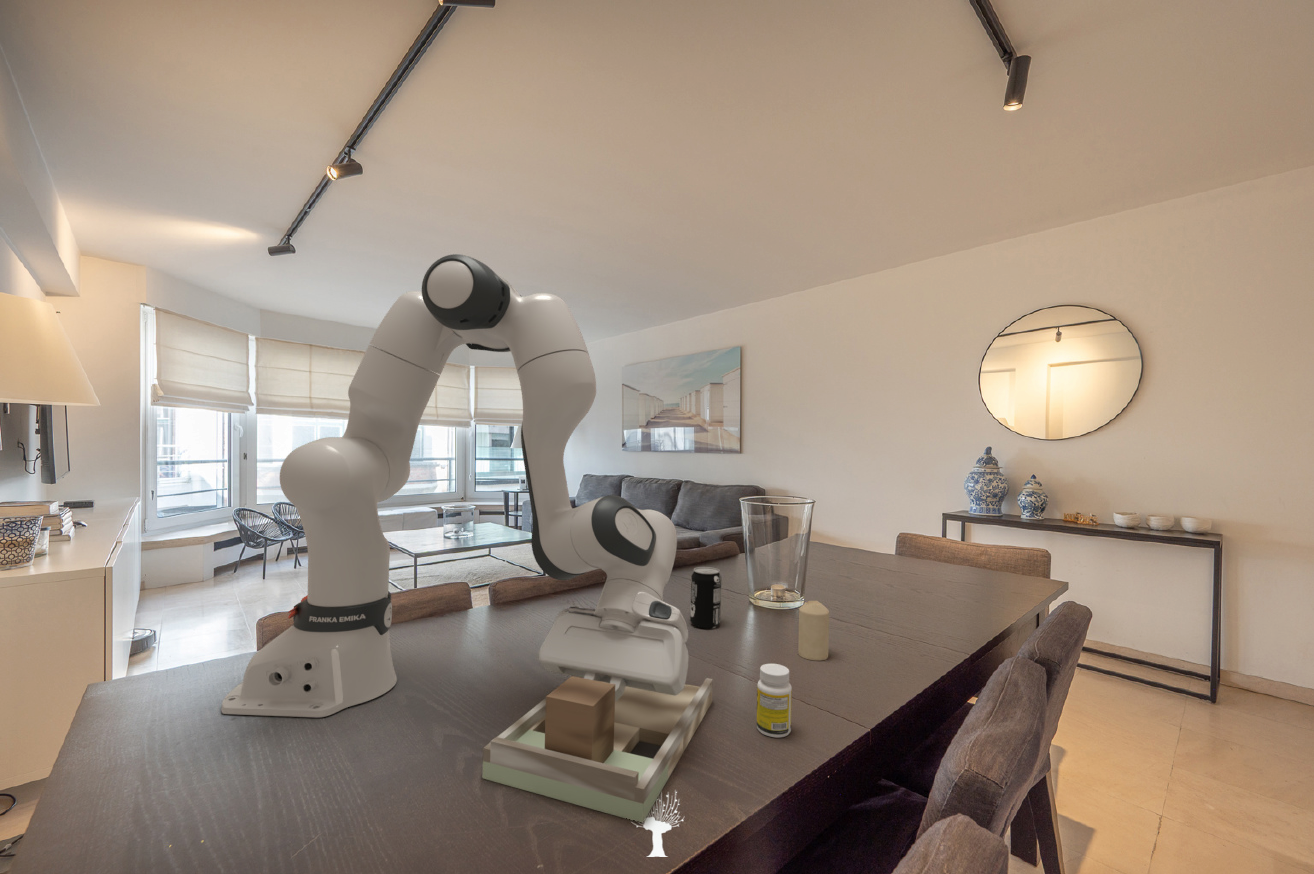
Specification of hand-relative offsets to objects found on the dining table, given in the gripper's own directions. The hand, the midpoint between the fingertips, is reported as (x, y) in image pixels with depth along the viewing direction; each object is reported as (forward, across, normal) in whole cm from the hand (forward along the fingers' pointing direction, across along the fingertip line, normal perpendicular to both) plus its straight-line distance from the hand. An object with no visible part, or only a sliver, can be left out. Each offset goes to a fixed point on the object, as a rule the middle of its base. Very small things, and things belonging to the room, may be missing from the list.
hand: (593, 715), depth 69 cm
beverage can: (-35, 0, +43) cm, 55 cm away
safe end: (+7, 0, +1) cm, 7 cm away
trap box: (0, 0, +8) cm, 8 cm away
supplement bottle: (-7, +20, +15) cm, 26 cm away
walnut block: (+5, 0, 0) cm, 5 cm away
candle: (-29, +23, +37) cm, 52 cm away
